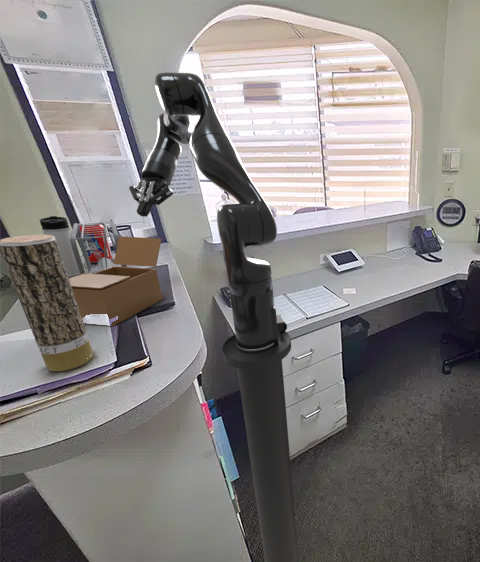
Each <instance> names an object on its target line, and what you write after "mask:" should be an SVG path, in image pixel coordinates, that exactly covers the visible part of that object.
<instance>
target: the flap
mask: <svg viewBox="0 0 480 562" xmlns="http://www.w3.org/2000/svg"><path fill="white" fill-rule="evenodd" d="M161 243H162V238H159V237H158V238H157V237H142V236H141V237H138V236H137V237H136V236H122V235H120V236H119V240H118V245H117V247H116V249H115V250H116V251H115V254H114V255H115V256H114V260H113V265H118V266H119V265H120V266H121V265H127V266H137V267H151V268H157V266H158V265H157V264H158V260H159V258H158V257H159V253H160V248H161Z"/></svg>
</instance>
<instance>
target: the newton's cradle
mask: <svg viewBox="0 0 480 562" xmlns="http://www.w3.org/2000/svg"><path fill="white" fill-rule="evenodd" d="M91 224H102V226H104V227H100V228H104V231H100V232H104V233H103V234H104V236H95V237H91V236H90V235H94V234H90V235H88V234H89V233H91V232H88V231H90V230H87V229H90V228H85V229H86V230H85V231H87V232H85V231H84V225H91ZM107 224H109V225H110V228H111V232H112V234H110V235H109V230H108V225H107ZM79 225H83V227H82V234H81V231H80V228H79ZM87 227H91V226H87ZM99 230H103V229H99ZM84 232H85V233H87V234H86V235H88V236H90V237H88V236H86V235H85V236H86V237H85V236H84V235H83V233H84ZM85 233H84V234H85ZM106 234H107V236H106ZM83 236H84V238H83ZM100 237H104V245H105V258H101V257H102V256H101V257H99V258H101V259H99V258H97V257H98V256H100V255H101V254H100V252H99V251H97V250H98V249H96V248H97V247H96V245H95V244H93V243H94V242H92V241H93V240H92V241H90V240H91V239H92V238H100ZM106 237H107V238H111V237H113V240H114V242H115V247H116V248H117V245H118V240H119V232H118V228H117V227H116V224H115V221H113V220H110V221H106V222H100V223H89V224H80V223H77V222H76V223H73V225H72V229H71V236H70V243H71V247H72V250H73V253H74V256H75V260H76V263H77V266H78V269H79V272H80V275H81V274H84V273H86V270H87V274H93V273H96V272H99V271H102V270H105V269H108V268H111V267H114V264H113V261H112V259H111V260H110V259H108V258H107V247H106ZM89 238H91V239H89ZM83 239H86V240H88V239H89V240H88V241H90V242H92V243H91V244H93V245H95V246H93V245H91V244H89V243H90V242H89V243H88V244H89V246H90V245H91V246H90V247H92V246H93V247H92V248H94V247H96V248H94V249H96V250H95V251H97V252H99V253H98V254H100V255H98V254H96V253H97V252H95V251H93V250H94V249H93V250H92V251H93V253H94V252H95V253H94V254H96V255H98V256H97V257H96V258H97V260H98V259H99V260H98V263H97V268H98V269H97V270H94V271H93V268H92V263H90V261H89V258H88V254H87V251H86V248H85V244H84V241H83ZM77 240H78V243H79V247H80V250H81V252H82V256H83V259H84V263H85V265H86V270H85V267H84V264H83V260H82V257H81V255H80V252H79V248H78V245H77ZM88 241H87V242H88ZM92 248H91V249H92ZM96 255H95V256H96ZM120 267H128V265H120Z"/></svg>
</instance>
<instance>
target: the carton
mask: <svg viewBox="0 0 480 562" xmlns="http://www.w3.org/2000/svg"><path fill="white" fill-rule="evenodd" d="M98 271H99V270H98ZM69 281H70V284H71V287H72V290H73V293H74V296H75V299H76V302H77V305H78V308H79V311H80V314H81V317H82V318H83V317H85V316H86V315H90V314H107V315H108V317H109V319H112V318H114V317H116V316H118V320H116V321H114V322H112V324H111V328H112V327H114V326H116V325H118V324H120V323H122V322H124V321H125V320H127V319H130V318H131V317H133V316H135V315H138V313H140V312H142V311H144V310H146V309H148V308H149V307H151V306H153V305H156V304H157V303H159V302H161V301H163V300H164V298H163V293H162V288H161V284H160V280H159V276H158V271H157V269H156V268H147V267H144V268H143V267H133V266H132V267H131V266H127V267H122V266H116V265H113V267H111V268H108V269H105V270H102V271H99V272H94V273H93V274H88V272H87V273H86V272H85V273H84V274H81V275H78V276H75V277H72V278H69Z"/></svg>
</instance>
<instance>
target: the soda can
mask: <svg viewBox="0 0 480 562" xmlns="http://www.w3.org/2000/svg"><path fill="white" fill-rule="evenodd" d="M89 223H101V222H100V221H91V222H81V223H79V224H89ZM102 225H103V224H91V225H84V231H85V230H86V229H85V228H90V229H87V230H90V231H88V232H91V233H89V234H88V235H90V234H94V235H90V236H91V237H95V236H104V234H103V233H104V232H100V231H104V228H100V227H104V226H102ZM87 226H91V227H87ZM82 227H83V225H79V228H80V231H81V234H82ZM99 229H103V230H99ZM85 232H87V231H85ZM85 232H84V233H85ZM84 233H83V235H84V236H85V235H86V234H87V233H85V234H84ZM88 235H86V236H88ZM84 236H83V238H84ZM86 236H85V237H86ZM90 236H88V237H90ZM106 236H107V234H106ZM108 238H109V237H106V247H107V258H108V259H110V260H111V261H112V260H113V254H112V250H111V249H112V248H111V247H110V243H109V239H108ZM89 239H91V238H89ZM89 239H88V240H89ZM88 240H86V239H83V241H84V244H85V248H86V251H87V254H88V258H89V261H90V264H98V260H99V259H101V258H105V245H104V237H100V238H92V239H91V240H90V241H92V240H93V241H92V242H94V243H93V244H95V245H96V247H97V248H96V247H94V248H96V249H98V250H97V251H99V252H100V254H101V255H100V254H98V253H99V252H97V251H95V250H96V249H94V248H92V247H93V246H95V245H93V244H91V243H92V242H90V241H88ZM87 241H88V242H87ZM89 242H90V243H89ZM88 243H89V244H91V245H93V246H92V247H90V246H91V245H90V246H89V244H88ZM91 248H92V249H91ZM93 249H94V250H93ZM92 250H93V251H95V252H97V253H96V254H98V255H100V256H98V255H96V254H94V253H95V252H94V253H93V251H92ZM95 255H96V256H95ZM97 256H98V257H97ZM101 256H102V257H101ZM96 257H97V258H99V257H101V258H99V259H98V260H97V258H96Z"/></svg>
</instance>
